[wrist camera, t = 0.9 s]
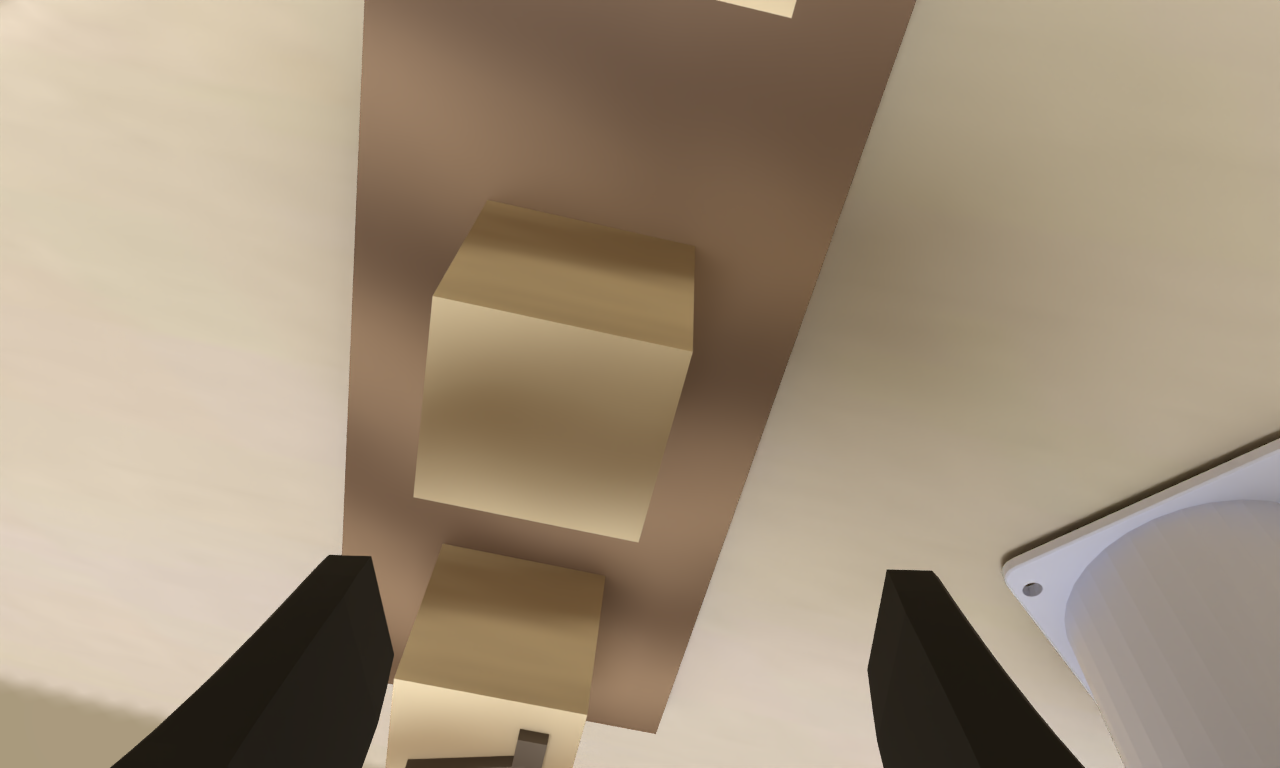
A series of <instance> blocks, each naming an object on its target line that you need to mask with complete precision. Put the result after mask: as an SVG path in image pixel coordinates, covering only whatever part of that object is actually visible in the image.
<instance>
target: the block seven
mask: <svg viewBox="0 0 1280 768" xmlns="http://www.w3.org/2000/svg"><path fill="white" fill-rule="evenodd" d="M604 584H605V576H603V575H598V574H593V573H588V572H583V571H578V570H573V569H568V568H563V567H558V566H553V565H548V564H543V563H538V562H533V561H528V560H523V559H518V558H513V557H508V556H503V555H498V554H493V553H488V552H483V551H478V550H473V549H468V548H463V547H457V546H452V545H447V544H442V547H441V550H440V553H439V556H438V558H437V561H436V564H435V567H434V569H433V572H432V575H431V578H430V580H429V583H428V586H427V589H426V591H425V594H424V597H423V600H422V602H421V605H420V608H419V611H418V614H417V616H416V619H415V622H414V625H413V627H412V630H411V633H410V636H409V638H408V641H407V644H406V647H405V649H404V652H403V655H402V658H401V660H400V663H399V666H398V669H397V672H396V674H395V677H394V683H393V694H392V705H391V715H390V726H389V737H388V748H387V758H386V768H572V767H573V764H574V760H575V757H576V753H577V750H578V746H579V743H580V739H581V736H582V732H583V728H584V725H585V721H586V718H587V713H588V706H589V698H590V690H591V683H592V675H593V668H594V660H595V652H596V645H597V637H598V629H599V622H600V614H601V607H602V599H603V591H604Z"/></svg>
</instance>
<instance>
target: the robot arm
mask: <svg viewBox="0 0 1280 768" xmlns="http://www.w3.org/2000/svg"><path fill="white" fill-rule="evenodd" d="M1002 575H1003V577H1004V580H1005V583H1006V585H1007V586H1008V588H1009V589H1010V590H1011V592H1012V593H1013V594H1014V596H1015V597H1016V598H1017V600H1018V601H1019V602H1020V603H1021V605H1022V606H1023V607H1024V609H1025V610H1026V611H1027V613H1028V614H1029V615H1030V617H1031V618H1032V619H1033V621H1034V622H1035V623H1036V625H1037V626H1038V627H1039V628H1040V630H1041V631H1042V632H1043V634H1044V635H1045V636H1046V638H1047V639H1048V640H1049V642H1050V643H1051V644H1052V646H1053V647H1054V648H1055V650H1056V651H1057V652H1058V654H1059V655H1060V656H1061V657H1062V659H1063V660H1064V661H1065V663H1066V664H1067V665H1068V667H1069V668H1070V669H1071V671H1072V672H1073V673H1074V675H1075V676H1076V677H1077V679H1078V680H1079V681H1080V682H1081V684H1082V685H1083V686H1084V688H1085V689H1086V690H1087V692H1088V693H1089V694H1090V696H1091V697H1092V698H1093V700H1094V701H1095V702H1096V704H1097V706H1098V708H1099V710H1100V712H1101V715H1102V717H1103V719H1104V721H1105V724H1106V726H1107V728H1108V730H1109V733H1110V735H1111V737H1112V739H1113V742H1114V744H1115V746H1116V748H1117V751H1118V753H1119V755H1120V757H1121V760H1122V762H1123V764H1124V766H1125V768H1280V438H1279V439H1277V440H1275V441H1272V442H1270V443H1268V444H1266V445H1263V446H1261V447H1259V448H1257V449H1255V450H1252V451H1250V452H1248V453H1246V454H1243V455H1241V456H1239V457H1237V458H1234V459H1232V460H1230V461H1228V462H1226V463H1223V464H1221V465H1219V466H1217V467H1214V468H1212V469H1210V470H1208V471H1206V472H1203V473H1201V474H1199V475H1197V476H1194V477H1192V478H1190V479H1188V480H1185V481H1183V482H1181V483H1179V484H1177V485H1174V486H1172V487H1170V488H1168V489H1165V490H1163V491H1161V492H1159V493H1157V494H1154V495H1152V496H1150V497H1148V498H1145V499H1143V500H1141V501H1139V502H1136V503H1134V504H1132V505H1130V506H1128V507H1125V508H1123V509H1121V510H1119V511H1116V512H1114V513H1112V514H1110V515H1108V516H1105V517H1103V518H1101V519H1099V520H1096V521H1094V522H1092V523H1090V524H1088V525H1085V526H1083V527H1081V528H1079V529H1076V530H1074V531H1072V532H1070V533H1067V534H1065V535H1063V536H1061V537H1059V538H1056V539H1054V540H1052V541H1050V542H1047V543H1045V544H1043V545H1041V546H1039V547H1036V548H1034V549H1032V550H1030V551H1027V552H1025V553H1023V554H1021V555H1018V556H1016V557H1014V558H1012V559H1010V560H1009V561H1007V562H1006V563H1005V564H1004V566H1003V567H1002ZM1029 583H1035V584H1033V585H1030V586H1026V585H1027V584H1029ZM393 658H394V651H393V647H392V643H391V639H390V634H389V630H388V626H387V621H386V617H385V613H384V608H383V604H382V600H381V596H380V591H379V587H378V583H377V578H376V574H375V570H374V565H373V561H372V557H371V556H349V555H329V556H327V557H326V558H325V559H324V560H323V561H322V562H321V563H320V564H319V565H318V566H317V567H316V568H315V569H314V570H313V571H312V573H311V574H310V575H309V576H308V577H307V578H306V579H305V580H304V581H303V582H302V583H301V584H300V585H299V586H298V587H297V589H296V590H295V591H294V592H293V593H292V594H291V595H290V596H289V597H288V598H287V599H286V600H285V601H284V602H283V604H282V605H281V606H280V607H279V608H278V609H277V610H276V611H275V612H274V613H273V614H272V615H271V616H270V617H269V618H268V619H267V620H266V621H265V623H264V624H263V625H262V626H261V627H260V628H259V629H258V630H257V631H256V632H255V633H254V634H253V635H252V636H251V637H250V638H249V639H248V640H247V641H246V642H245V643H244V644H243V645H242V646H241V647H240V648H239V649H238V650H237V651H236V652H235V653H234V654H233V655H232V656H231V657H230V658H229V659H228V660H227V661H226V662H225V663H224V664H223V665H222V666H221V667H220V668H219V669H218V670H217V671H216V672H215V673H214V674H213V675H212V676H211V677H210V678H209V679H208V680H207V681H206V682H205V683H204V684H203V685H202V686H201V687H200V688H199V689H198V690H197V691H196V692H195V693H193V694H192V695H191V696H190V697H189V698H188V699H187V700H186V701H185V702H184V703H183V704H182V705H181V706H179V707H178V708H177V709H176V710H175V711H174V712H173V713H172V714H171V715H170V716H169V717H168V718H167V719H166V720H164V721H163V722H162V723H161V724H160V725H159V726H158V727H157V728H156V729H155V730H154V731H153V732H152V733H150V734H149V735H148V736H147V737H146V738H144V739H143V740H142V741H141V742H140V743H139V744H138V745H136V746H135V747H134V748H133V749H132V750H131V751H129V752H128V753H127V754H126V755H125V756H124V757H122V758H121V759H120V760H119V761H118V762H116V763H115V764H114V765H113V766H112V767H111V768H362V766H363V763H364V760H365V758H366V755H367V752H368V750H369V747H370V744H371V741H372V739H373V736H374V733H375V730H376V727H377V724H378V721H379V717H380V713H381V709H382V705H383V701H384V697H385V693H386V689H387V684H388V680H389V676H390V671H391V667H392V662H393ZM868 677H869V685H870V693H871V701H872V709H873V716H874V722H875V729H876V736H877V742H878V747H879V751H880V755H881V759H882V763H883V767H884V768H1085V767H1084V766H1083V765H1082V764H1081V763H1080V762H1079V761H1078V759H1077V758H1076V757H1075V756H1074V755H1073V754H1072V752H1071V751H1070V750H1069V749H1068V748H1067V747H1066V746H1065V744H1064V743H1063V742H1062V741H1061V740H1060V739H1059V738H1058V736H1057V735H1056V734H1055V733H1054V732H1053V730H1052V729H1051V728H1050V727H1049V726H1048V724H1047V723H1046V722H1045V721H1044V720H1043V718H1042V717H1041V716H1040V715H1039V714H1038V712H1037V711H1036V710H1035V709H1034V707H1033V706H1032V705H1031V704H1030V702H1029V701H1028V700H1027V698H1026V697H1025V696H1024V695H1023V693H1022V692H1021V691H1020V690H1019V688H1018V687H1017V686H1016V684H1015V683H1014V682H1013V681H1012V679H1011V678H1010V677H1009V676H1008V674H1007V673H1006V672H1005V670H1004V669H1003V668H1002V666H1001V665H1000V664H999V663H998V661H997V660H996V659H995V657H994V656H993V655H992V653H991V652H990V650H989V649H988V648H987V646H986V645H985V644H984V642H983V641H982V639H981V638H980V637H979V635H978V634H977V633H976V631H975V630H974V628H973V627H972V626H971V624H970V623H969V621H968V620H967V619H966V617H965V616H964V614H963V613H962V611H961V610H960V608H959V607H958V606H957V604H956V603H955V601H954V600H953V598H952V597H951V595H950V594H949V592H948V591H947V590H946V588H945V587H944V585H943V584H942V582H941V581H940V579H939V578H938V577H937V576H936V575H935V573H934V572H933V571H920V570H887V572H886V577H885V582H884V587H883V592H882V598H881V603H880V608H879V613H878V618H877V623H876V628H875V633H874V639H873V644H872V649H871V654H870V659H869V664H868Z"/></svg>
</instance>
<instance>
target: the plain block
mask: <svg viewBox="0 0 1280 768" xmlns="http://www.w3.org/2000/svg"><path fill="white" fill-rule="evenodd" d="M694 275H695V246H692V245H688V244H683V243H679V242H674V241H670V240H665V239H661V238H656V237H652V236H647V235H643V234H638V233H634V232H629V231H625V230H620V229H616V228H611V227H607V226H602V225H598V224H593V223H589V222H584V221H580V220H575V219H571V218H567V217H562V216H558V215H553V214H549V213H544V212H540V211H535V210H531V209H526V208H522V207H517V206H513V205H508V204H504V203H499V202H495V201H490V200H487V202H486V203H485V205H484V207H483V209H482V210H481V212H480V214H479V216H478V217H477V219H476V221H475V223H474V224H473V226H472V228H471V230H470V231H469V233H468V235H467V237H466V238H465V240H464V242H463V244H462V245H461V247H460V249H459V251H458V252H457V254H456V256H455V258H454V259H453V261H452V263H451V265H450V266H449V268H448V270H447V272H446V273H445V275H444V277H443V279H442V280H441V282H440V284H439V286H438V287H437V289H436V291H435V292H434V294H433V297H432V307H431V318H430V328H429V339H428V349H427V360H426V370H425V380H424V391H423V401H422V412H421V422H420V433H419V443H418V454H417V464H416V475H415V485H414V496H413V497H415V498H420V499H425V500H430V501H435V502H440V503H445V504H450V505H455V506H460V507H465V508H470V509H475V510H480V511H485V512H490V513H495V514H499V515H504V516H509V517H514V518H519V519H524V520H529V521H534V522H539V523H544V524H549V525H554V526H559V527H564V528H569V529H574V530H579V531H584V532H589V533H594V534H599V535H604V536H609V537H614V538H619V539H624V540H628V541H633V542H638V543H639V539H640V536H641V532H642V529H643V525H644V522H645V518H646V515H647V511H648V508H649V504H650V501H651V497H652V493H653V490H654V486H655V483H656V479H657V476H658V472H659V469H660V465H661V462H662V458H663V455H664V451H665V448H666V444H667V441H668V437H669V434H670V430H671V427H672V423H673V420H674V416H675V413H676V409H677V406H678V402H679V399H680V395H681V392H682V388H683V385H684V381H685V378H686V374H687V371H688V367H689V364H690V360H691V357H692V353H693V321H694Z"/></svg>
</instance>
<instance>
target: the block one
mask: <svg viewBox="0 0 1280 768" xmlns="http://www.w3.org/2000/svg"><path fill="white" fill-rule="evenodd" d="M718 1H722V2H726V3H731V4H735V5H739V6H743V7H747V8H751V9H756V10H760V11H764V12H768V13H772V14H776V15H780V16H785V17H789V18H792V14H793V11H794V7H795V4H796V0H718Z"/></svg>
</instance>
